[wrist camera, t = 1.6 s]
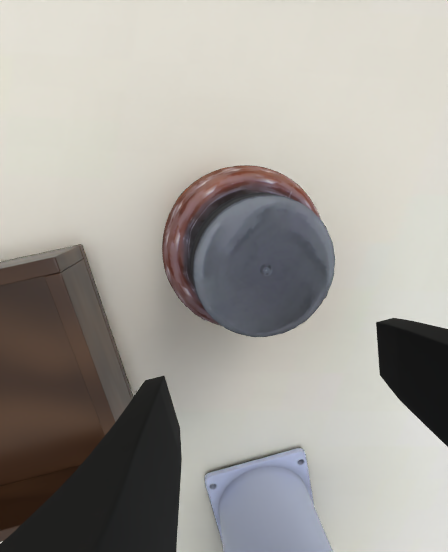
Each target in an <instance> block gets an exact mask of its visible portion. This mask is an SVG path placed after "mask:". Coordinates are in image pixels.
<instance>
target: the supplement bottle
mask: <svg viewBox="0 0 448 552" xmlns="http://www.w3.org/2000/svg"><path fill="white" fill-rule="evenodd" d="M162 252H163V262H164V268H165V272H166V275H167V278H168V280H169V282H170V284H171V286H172V288H173V289H174V291H175V293H176V295H177V296H178V298H179V299H180V300H181V302H182V303H184V305H185V306H186V307H188V308H189V309H190V310H191V311H192V312H193V313H194V314H195V315H197V316H199V317H201V318H202V319H204V320H207V321H209V322H212V323H214V324H217V325H220V326H223V327H225V328H226V329H228V330H230V331H233V332H235V333H238V334H241V335H246V336H251V337H267V336H273V335H277V334H281V333H285V332H287V331H289V330H291V329H293V328H296V327H297V326H298V325H300V324H301V323H303V322H305V321H306V320H307V319H308V318H309V317H310V316H311V315H312V314H313V313H314V312H315V311H316V310H317V308H318V307H319V306H320V304H321V303H322V301H323V299H325V298H326V296H327V293H328V290H329V288H330V286H331V283H332V279H333V276H334V266H335V256H334V249H333V243H332V240H331V238H330V236H329V233H328V231H327V228H326V226H325V225H324V224H323V222H322V221H321V219H320V216H319V213H318V212H317V209H316V207H315V206H314V204H313V202H312V201H311V199H310V198H309V196H308V195H307V194H306V193H305V192H304V190H303V189H302V188H301V187H300V186H299V185H298V184H296V183H295V182H294V181H292V180H291V179H289V178H288V177H286V176H285V175H283V174H281V173H278V172H276V171H274V170H271V169H267V168H264V167H258V166H234V167H227V168H223V169H219V170H216V171H213V172H211V173H209V174H207V175H205V176H203V177H201V178H200V179H198V180H197V181H195V182H194V183H193V184H191V185H190V186H189V187H188V188H187V189H186V190H185V191H184V192H183V193H182V194H181V195H180V196H179V198H178V199H177V201H176V203H175V204H174V206H173V208H172V210H171V212H170V214H169V216H168V219H167V222H166V226H165V230H164V235H163V245H162Z"/></svg>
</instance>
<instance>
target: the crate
mask: <svg viewBox="0 0 448 552" xmlns="http://www.w3.org/2000/svg"><path fill="white" fill-rule="evenodd" d="M132 399H133V395H132V392H131V389H130V386H129V383H128V380H127V377H126V374H125V371H124V368H123V365H122V362H121V359H120V356H119V353H118V350H117V347H116V344H115V341H114V338H113V336H112V333H111V330H110V327H109V324H108V321H107V318H106V315H105V312H104V309H103V306H102V303H101V300H100V297H99V294H98V291H97V288H96V285H95V282H94V279H93V276H92V273H91V270H90V267H89V264H88V261H87V258H86V255H85V252H84V249H83V246H82V245H81V244H80V245H76V246H71V247H67V248H62V249H57V250H53V251H48V252H44V253H39V254H34V255H30V256H25V257H21V258H16V259H11V260H7V261H2V262H0V542H1V541H4V540H5V539H6V538H8V537H9V536H10V535H11V534H12V533H13V532H14V531H15V530H16V529H17V528H18V527H19V526H20V525H22V524H23V523H24V522H25V521H26V520H27V519H28V518H29V517H30V516H31V515H32V514H33V513H34V512H35V511H36V510H37V509H38V508H39V507H41V506H42V505H43V504H44V503H45V502H46V501H47V500H48V499H49V498H50V497H51V496H52V495H53V494H54V493H55V492H56V491H57V490H58V489H59V488H60V487H61V486H62V485H63V484H64V482H65V481H66V480H67V479H68V478H69V477H70V476H71V475H72V474H73V473H74V472H75V471H76V470H77V469H78V467H79V466H80V465H81V464H82V463H83V462H84V461H85V460H86V458H87V457H88V456H89V455H90V454H91V452H92V451H93V450H94V449H95V447H96V446H97V445H98V444H99V442H100V441H101V440H102V439H103V437H104V436H105V435H106V434H107V432H108V431H109V430H110V429H111V428H112V426H113V425H114V424H115V422H116V421H117V419H118V418H119V417H120V415H121V414H122V413H123V411H124V410H125V408H126V407H127V406H128V404H129V403H130V401H131V400H132Z"/></svg>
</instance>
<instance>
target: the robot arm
mask: <svg viewBox="0 0 448 552" xmlns="http://www.w3.org/2000/svg"><path fill="white" fill-rule="evenodd" d="M376 326H377V340H378V355H379V369H380V376H381V377H382V378H383V379H384V381H385V382H386V383H387V385H388V386H389V387H390V389H391V390H392V391H393V392H394V393H395V395H396V396H397V397H398V398H399V399H400V401H401V402H402V403H403V404H404V405H405V406H406V407H407V408H408V409H409V410H410V411H411V412H412V413H414V414H415V415H416V416H417V417H418V418H419V419H420V420H421V421H422V422H423V423H424V424H425V425H426V426H427V427H428V428H429V429H430V430H431V431H432V432H433V433H434V434H435V435H436V436H437V437H438V438H439V439H440V440H441V441H442V442H443V443H445V444H446V445H447V446H448V329H445V328H440V327H436V326H432V325H428V324H423V323H419V322H414V321H409V320H404V319H397V318H392V319H388V320H384V321H380V322H376ZM300 459H301V460H300ZM180 478H181V440H180V427H179V423H178V420H177V417H176V413H175V410H174V407H173V403H172V400H171V396H170V393H169V390H168V386H167V383H166V380H165V376H161V377H157V378H153V379H149V380H145V382H144V383H143V384H142V386H141V387H140V389H139V390H138V391H137V393H136V394H135V396H134V397H133V399H132V400H131V401H130V403H129V404H128V406H127V407H126V408H125V410H124V411H123V413H122V414H121V415H120V417H119V418H118V419H117V421H116V422H115V424H114V425H113V426H112V428H111V429H110V430H109V431H108V432H107V434H106V435H105V436H104V437H103V439H102V440H101V441H100V442H99V444H98V445H97V446H96V447H95V449H94V450H93V451H92V452H91V454H90V455H89V456H88V457H87V458H86V460H85V461H84V462H83V463H82V464H81V465H80V466H79V467H78V469H77V470H76V471H75V472H74V473H73V474H72V475H71V476H70V477H69V478H68V479H67V480H66V481H65V482H64V484H63V485H62V486H61V487H60V488H59V489H58V490H57V491H56V492H55V493H54V494H53V495H52V496H51V497H50V498H49V499H48V500H47V501H46V502H45V503H44V504H43V505H42V506H41V507H39V508H38V509H37V510H36V511H35V512H34V513H33V514H32V515H31V516H30V517H29V518H28V519H27V520H26V521H25V522H24V523H23V524H22V525H20V526H19V527H18V528H17V529H16V530H15V531H14V532H13V533H12V534H11V535H10V536H9V537H8V538H6V539H5V540H4V541H3V542H2V543H1V544H0V552H176V542H177V526H178V510H179V494H180ZM205 484H206V488H207V491H208V495H209V498H210V502H211V505H212V509H213V512H214V516H215V519H216V523H217V526H218V530H219V533H220V537H221V540H222V544H223V551H224V552H333V550H332V548H331V545H330V543H329V541H328V538H327V536H326V534H325V531H324V529H323V526H322V524H321V522H320V519H319V517H318V515H317V512H316V510H315V507H314V502H313V496H312V490H311V484H310V478H309V472H308V466H307V459H306V454H305V452H304V450H303V449H302V448H297V449H293V450H289V451H286V452H282V453H278V454H275V455H271V456H268V457H264V458H260V459H257V460H253V461H250V462H246V463H242V464H239V465H235V466H231V467H228V468H224V469H221V470H217V471H213V472H210V473H208V474H207V475H206V476H205ZM211 484H213V485H211Z"/></svg>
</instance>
